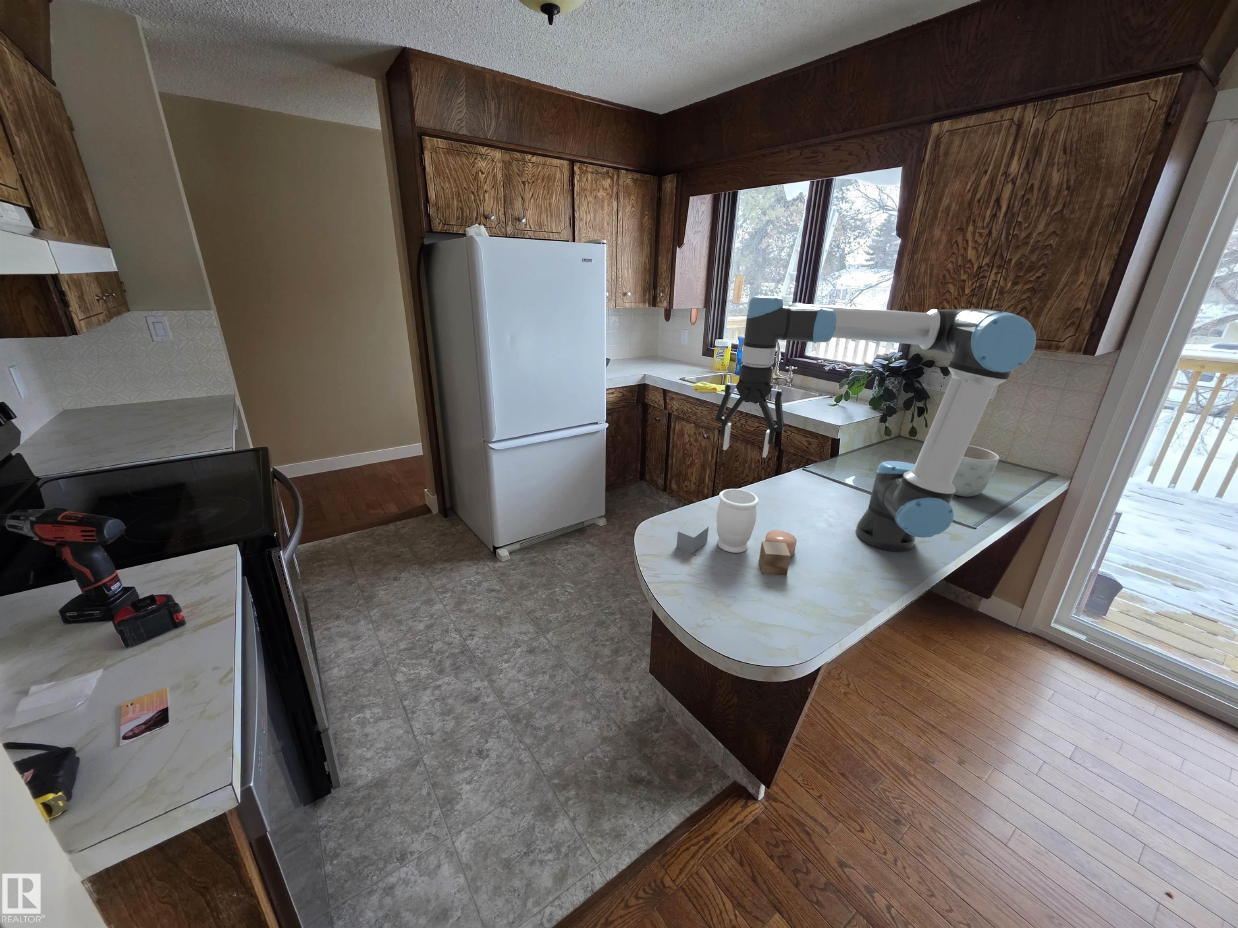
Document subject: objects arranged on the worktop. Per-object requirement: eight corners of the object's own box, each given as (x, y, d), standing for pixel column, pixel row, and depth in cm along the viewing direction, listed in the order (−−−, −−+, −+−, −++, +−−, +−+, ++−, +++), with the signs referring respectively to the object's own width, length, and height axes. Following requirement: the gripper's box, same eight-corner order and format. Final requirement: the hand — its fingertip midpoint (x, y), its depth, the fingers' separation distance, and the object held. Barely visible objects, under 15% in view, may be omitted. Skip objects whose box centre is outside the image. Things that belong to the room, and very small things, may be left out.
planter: (977, 506, 167) (991, 464, 161) (922, 489, 179) (934, 449, 173) (991, 493, 178) (1005, 453, 172) (939, 478, 189) (950, 440, 184)
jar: (752, 558, 132) (760, 507, 127) (712, 552, 134) (718, 502, 128) (750, 538, 142) (757, 490, 136) (713, 533, 144) (719, 486, 138)
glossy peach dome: (796, 547, 138) (798, 534, 137) (791, 561, 132) (794, 548, 130) (766, 540, 142) (768, 527, 140) (761, 553, 135) (763, 540, 133)
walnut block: (782, 563, 131) (785, 543, 129) (786, 576, 125) (790, 555, 123) (758, 561, 131) (761, 541, 129) (762, 574, 126) (765, 553, 124)
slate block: (706, 542, 139) (708, 526, 137) (692, 553, 133) (694, 537, 132) (691, 536, 142) (693, 520, 140) (676, 547, 136) (677, 531, 134)
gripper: (807, 367, 118) (791, 455, 127) (716, 357, 127) (707, 440, 135) (803, 372, 112) (787, 465, 120) (707, 361, 121) (699, 448, 129)
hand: (744, 451), depth 128 cm, fingers open, 9 cm apart
